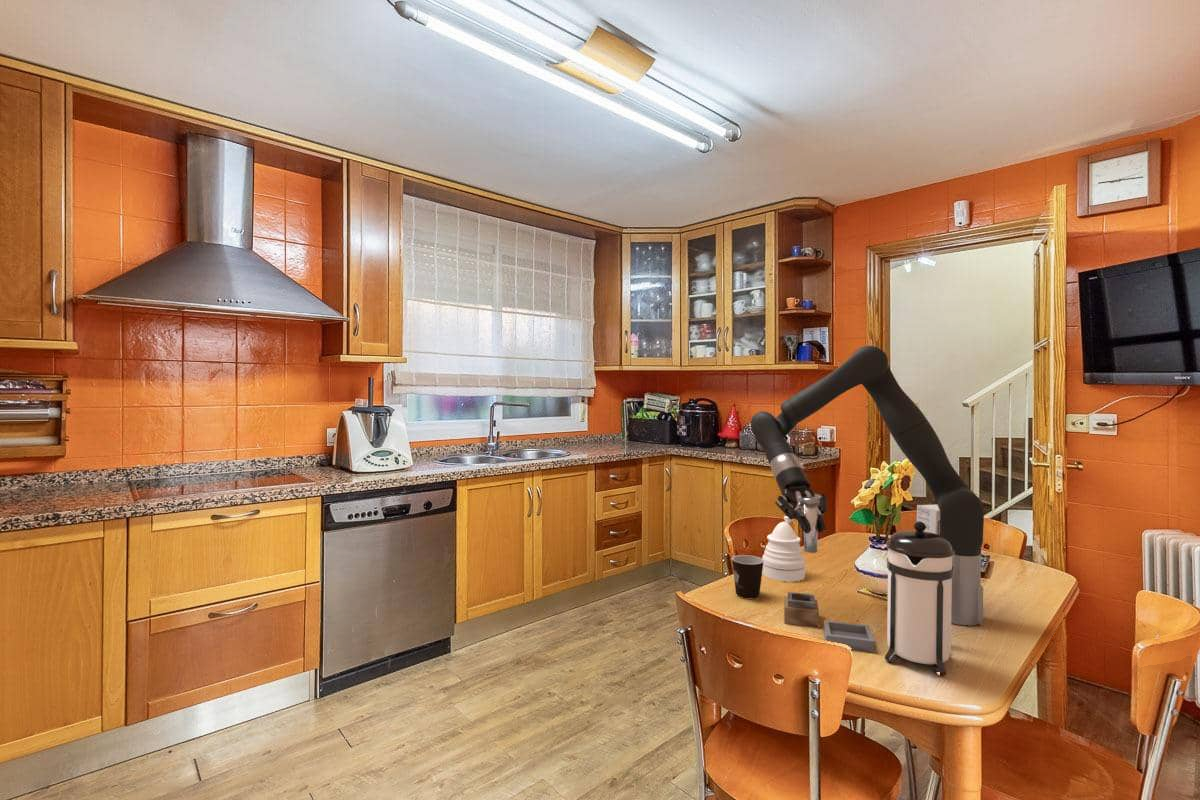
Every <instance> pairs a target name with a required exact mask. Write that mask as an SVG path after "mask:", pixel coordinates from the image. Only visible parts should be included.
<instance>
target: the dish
mask: <svg viewBox="0 0 1200 800" xmlns="http://www.w3.org/2000/svg"><path fill="white" fill-rule="evenodd" d="M823 634H824V640H827V641H831V642H837V643H842V644H846V645H848V646H850V647H851V648H852V650H853V651H859V652H868V653H874V652H875V651H876V649H875V648H876V640H875V638H874V636H873V632H872V631H871V627H870V625H869V624H861V623H853V622H841V621H837V620H836V621H834V620H826V619H825V620H824V619H823ZM852 650H851V651H852Z"/></svg>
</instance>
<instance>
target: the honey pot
mask: <svg viewBox="0 0 1200 800" xmlns="http://www.w3.org/2000/svg"><path fill="white" fill-rule="evenodd" d="M783 519H784V521H781V522H779V523H778V524H777V525H775V527H774V529H773V531H772V532H771V533H770V534H768V535H767V537H766V539H767V540H768V543H767V545H765V550H764V551H763V552H764V553H763V555H762V557H761V558H762V559H763V560H764V562H763V570H762V573H763V574H764V575H765V576H766V577H768V578H771V579H774V580H773V581H775V580H779V581H778V582H781V581H786V582H785V583H795V582H794V581H798V582H801V581H800V580H802V581H804V580H805V579H806V559H805V557H804V553H803V552H802V551H803V549H802V547H801V545H800V542H801V538H800V536H797V534H796V533H795V531H794V529H793V528H792V526H791V525H790V524H791V522H792V521H793V519H789V518H788V517H787V516H785V515H784V516H783ZM763 574H762V575H763ZM766 577H765V578H766ZM768 578H767V579H768ZM804 578H805V579H804ZM771 579H770V580H771ZM803 579H804V580H803Z"/></svg>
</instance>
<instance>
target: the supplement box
mask: <svg viewBox="0 0 1200 800" xmlns="http://www.w3.org/2000/svg"><path fill="white" fill-rule="evenodd" d="M919 521H920V522H923V523H924V524H925V526H926V529H925V530H924V531H925V532H931V533H934V534H938V535H939V534H940V510H939V508H938V505H937V503H936V504H917V505H916V522H919Z"/></svg>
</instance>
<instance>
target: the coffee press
mask: <svg viewBox="0 0 1200 800" xmlns="http://www.w3.org/2000/svg"><path fill="white" fill-rule="evenodd" d="M913 528H914V529H905V530H899V531H896V532H894V533H893V534H891V535H890V536H889V539H888V540H887V541H886V545H885V546H886V548H887V550H888V551H887V552H888V553H887V557H886V568H887V615H886V616H887V617H886V618H887V620H886V621H887V622H886V623H887V625H886V626H887V628H886V629H887V630H886V631H887V633H886V634H887V635H886V638H887V640H886V641H887V646H888V650H887V652H886V654H885V656H884V659H885V661H886V662H888V663H889V664H891V663H892V664H894V663H895V662H896V661H897V660H898V659H900V658H902V659H904V660H907V661H910V662H914V663H917V664H922V665H923V664H924V665H930V666H931V667H932V668H933V670H934V672H935V673H936V672H940V675H942V676H947V669H946V667H945V665H944V663H945V662H947V661H948V660H949V659H950V658H951V656H952V653H951V651H952V645H951V644H952V641H951V640H952V623H951V603H952V577H953V566H952V557H953V556H954V553H955V550H954V548H952V546H951V544H950V542H949V541H948V540H947V539H946V538H944V537H942V536H940V535H938V534H934V533H931V532H925V531H924V530H925V529H926V526H925V524H924V523H923V522H920V521H919V522H917V521H916V522H915V523H914V525H913Z"/></svg>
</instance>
